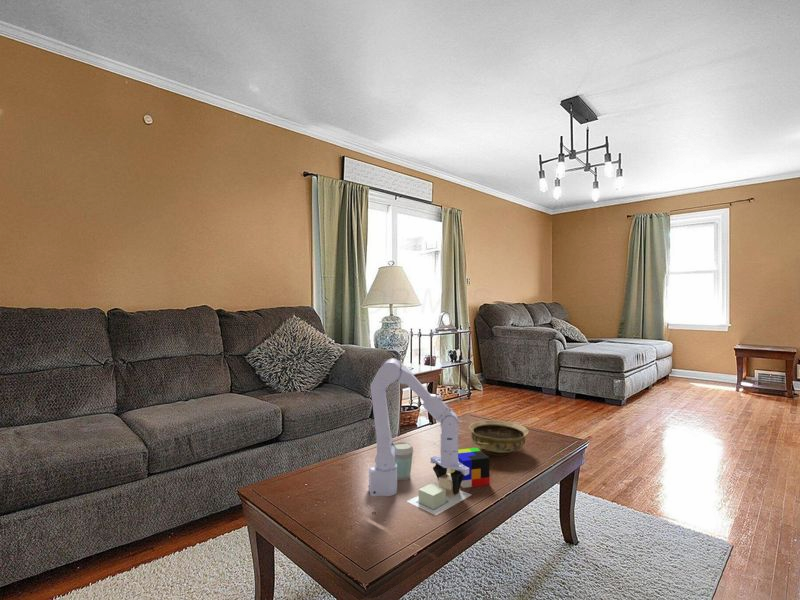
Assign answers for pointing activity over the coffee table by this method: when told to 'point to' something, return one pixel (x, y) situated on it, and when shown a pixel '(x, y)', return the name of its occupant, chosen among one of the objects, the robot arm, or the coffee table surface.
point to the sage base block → (432, 495)
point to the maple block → (447, 484)
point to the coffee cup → (403, 459)
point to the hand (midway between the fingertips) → (449, 490)
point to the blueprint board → (442, 507)
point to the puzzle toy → (474, 467)
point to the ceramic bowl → (498, 436)
